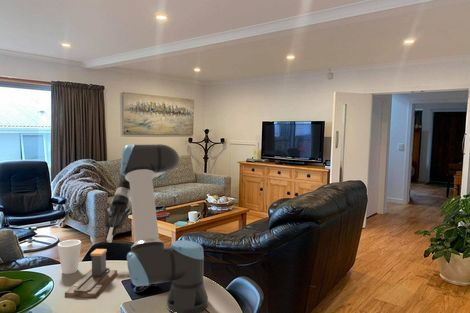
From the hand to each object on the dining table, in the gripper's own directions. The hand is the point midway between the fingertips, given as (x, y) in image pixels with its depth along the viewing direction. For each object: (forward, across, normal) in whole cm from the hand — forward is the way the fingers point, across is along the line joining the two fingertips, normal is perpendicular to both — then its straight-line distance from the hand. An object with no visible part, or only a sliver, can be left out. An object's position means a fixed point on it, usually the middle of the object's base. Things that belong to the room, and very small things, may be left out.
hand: (108, 241), depth 159 cm
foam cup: (+13, +16, -5) cm, 21 cm away
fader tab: (+16, 0, +1) cm, 16 cm away
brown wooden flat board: (+21, 0, +4) cm, 21 cm away
